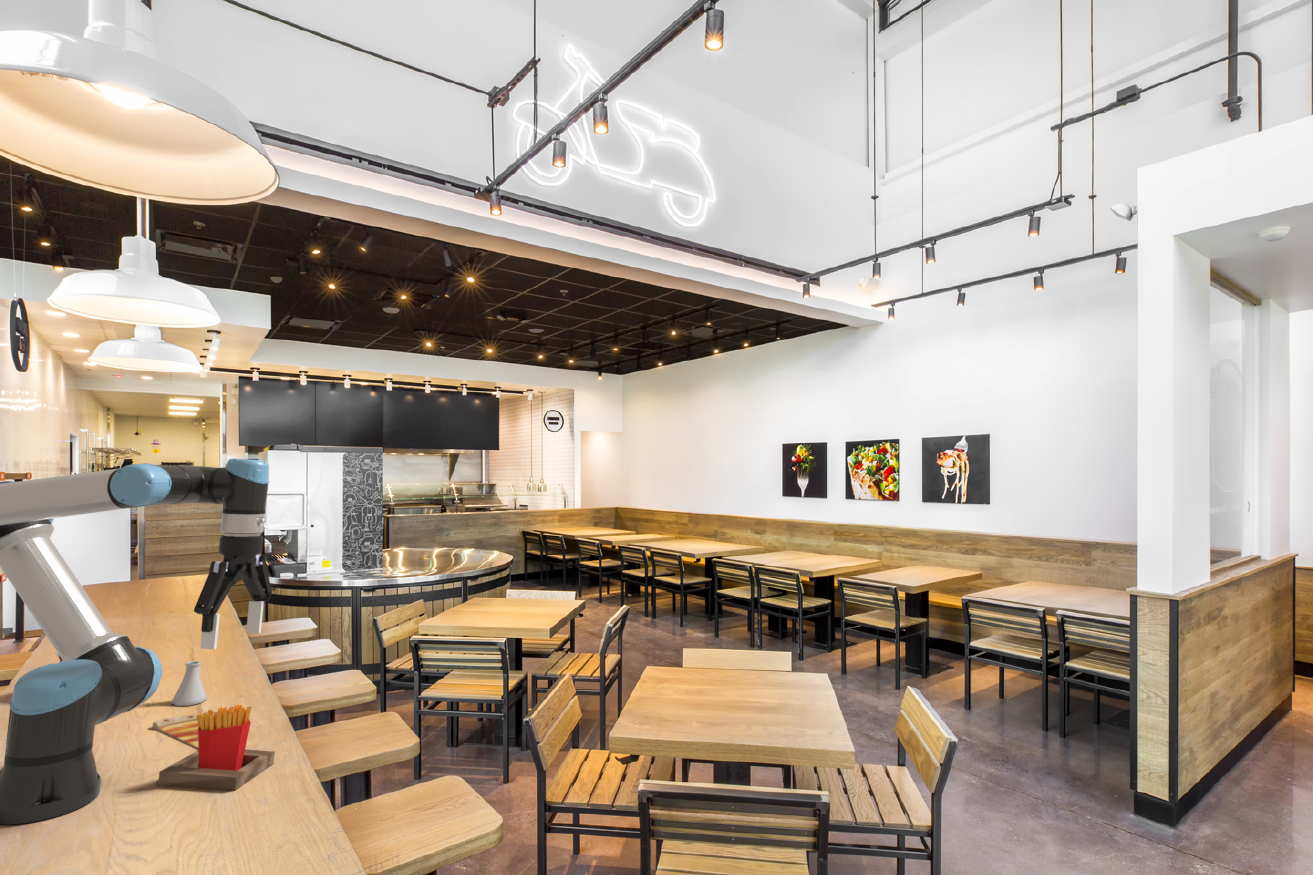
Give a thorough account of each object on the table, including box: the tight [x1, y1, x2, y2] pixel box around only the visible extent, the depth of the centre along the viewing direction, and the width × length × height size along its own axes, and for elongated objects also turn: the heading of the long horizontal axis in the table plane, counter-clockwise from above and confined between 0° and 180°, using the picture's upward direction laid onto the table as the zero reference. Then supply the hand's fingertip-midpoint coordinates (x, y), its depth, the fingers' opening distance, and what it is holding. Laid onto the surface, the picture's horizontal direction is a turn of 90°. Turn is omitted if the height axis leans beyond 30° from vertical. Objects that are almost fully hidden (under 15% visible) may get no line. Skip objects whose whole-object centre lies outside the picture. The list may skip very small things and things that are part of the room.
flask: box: [170, 660, 208, 707], centre depth 169 cm, size 7×7×10 cm
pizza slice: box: [151, 710, 218, 750], centre depth 149 cm, size 16×22×2 cm
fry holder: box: [157, 748, 276, 791], centre depth 130 cm, size 12×15×2 cm
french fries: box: [196, 704, 252, 771], centre depth 131 cm, size 9×4×13 cm, turn 130°
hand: (232, 640), depth 132 cm, fingers open, 13 cm apart
